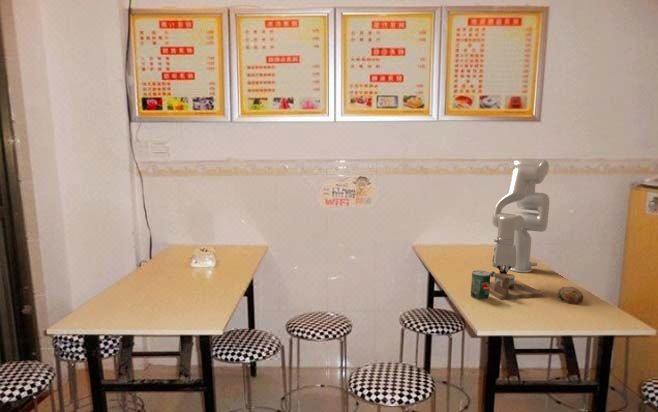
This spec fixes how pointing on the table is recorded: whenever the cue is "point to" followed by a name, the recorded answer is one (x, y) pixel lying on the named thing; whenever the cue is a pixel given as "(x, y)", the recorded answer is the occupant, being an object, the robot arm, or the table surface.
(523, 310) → the table surface
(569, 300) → the bread roll
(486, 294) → the canned tomato
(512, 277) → the lever
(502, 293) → the stand
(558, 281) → the table surface
